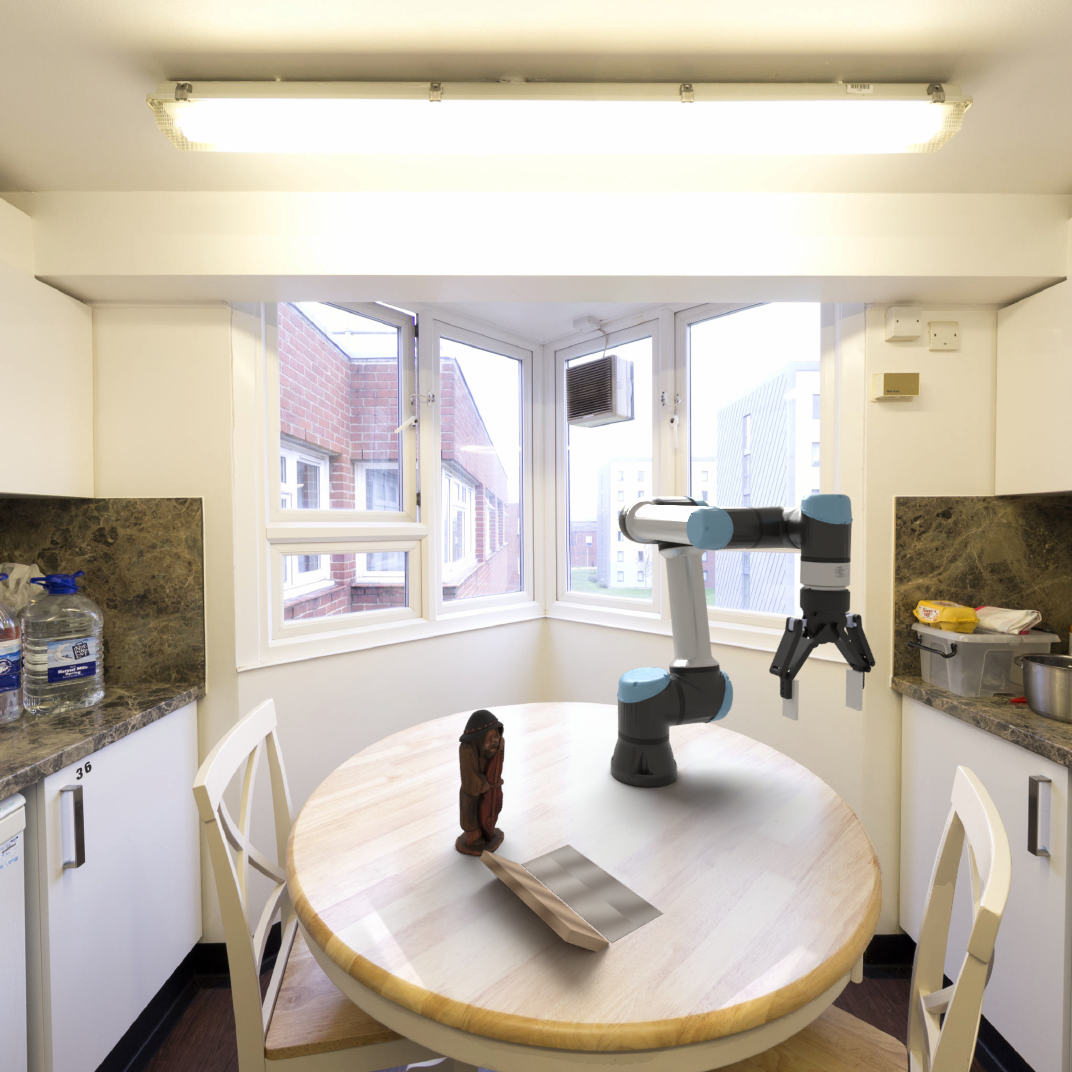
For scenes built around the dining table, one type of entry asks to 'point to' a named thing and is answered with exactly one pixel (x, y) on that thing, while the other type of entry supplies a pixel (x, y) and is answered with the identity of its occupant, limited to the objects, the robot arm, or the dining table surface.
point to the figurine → (481, 784)
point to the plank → (544, 903)
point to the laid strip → (592, 892)
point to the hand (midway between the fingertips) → (822, 713)
